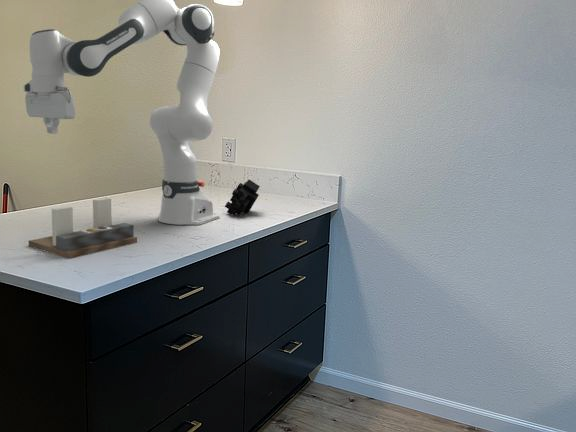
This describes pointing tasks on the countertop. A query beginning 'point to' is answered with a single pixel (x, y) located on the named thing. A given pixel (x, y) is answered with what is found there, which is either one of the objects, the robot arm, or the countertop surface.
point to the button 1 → (61, 222)
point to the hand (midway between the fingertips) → (52, 133)
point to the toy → (243, 198)
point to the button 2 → (101, 212)
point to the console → (88, 240)
